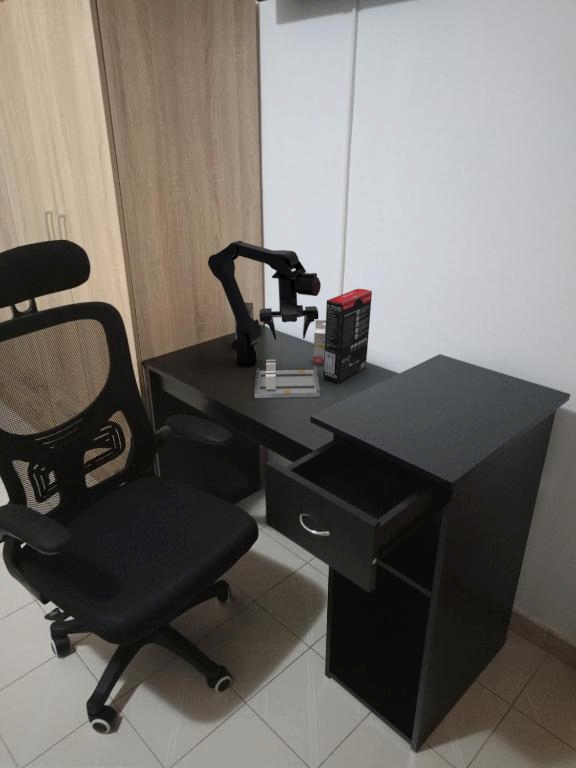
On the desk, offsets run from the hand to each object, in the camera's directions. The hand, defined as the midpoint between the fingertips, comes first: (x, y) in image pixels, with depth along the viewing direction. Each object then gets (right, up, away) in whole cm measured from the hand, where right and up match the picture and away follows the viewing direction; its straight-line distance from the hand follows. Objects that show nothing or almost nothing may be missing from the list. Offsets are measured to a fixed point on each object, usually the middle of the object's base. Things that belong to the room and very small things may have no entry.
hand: (289, 339), depth 178 cm
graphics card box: (+19, -11, +5) cm, 23 cm away
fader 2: (-6, -15, -8) cm, 19 cm away
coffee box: (-16, -1, +27) cm, 31 cm away
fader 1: (-6, -12, 0) cm, 13 cm away
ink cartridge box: (+13, -7, +14) cm, 20 cm away
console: (-1, -15, -3) cm, 16 cm away
